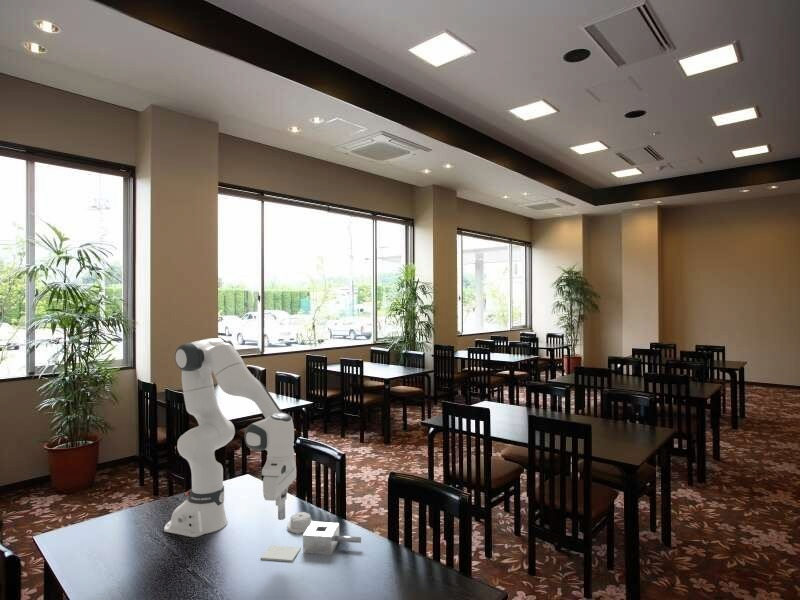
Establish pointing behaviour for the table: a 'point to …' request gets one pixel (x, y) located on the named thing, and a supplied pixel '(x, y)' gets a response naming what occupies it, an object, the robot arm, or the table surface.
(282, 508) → the grey capped cylinder
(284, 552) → the mat
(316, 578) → the table surface
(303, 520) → the mechanical component
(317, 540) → the block
